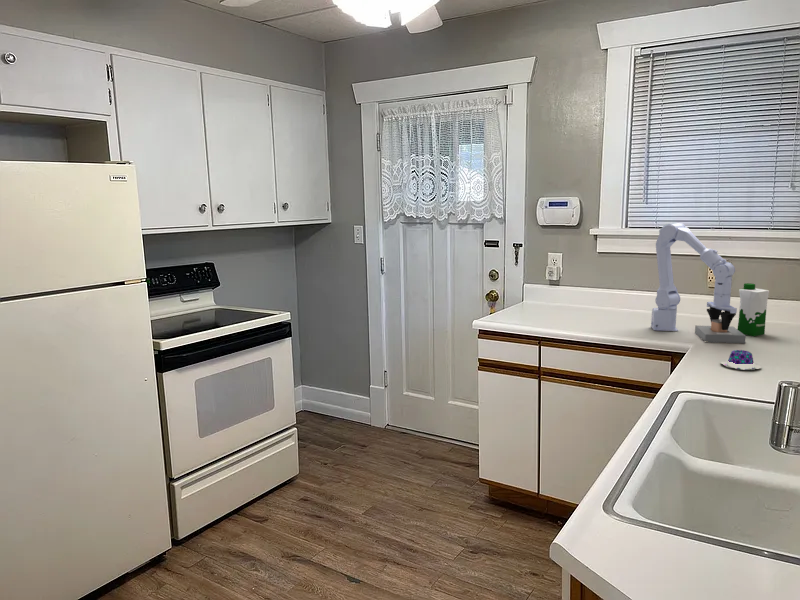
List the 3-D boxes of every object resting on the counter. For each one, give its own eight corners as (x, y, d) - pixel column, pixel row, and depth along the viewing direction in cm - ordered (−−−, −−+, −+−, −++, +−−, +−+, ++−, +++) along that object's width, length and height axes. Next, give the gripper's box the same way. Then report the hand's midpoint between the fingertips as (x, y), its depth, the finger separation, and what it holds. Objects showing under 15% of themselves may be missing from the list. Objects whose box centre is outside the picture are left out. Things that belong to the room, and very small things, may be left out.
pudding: (712, 366, 202) (713, 351, 201) (731, 360, 208) (732, 345, 207) (750, 374, 192) (751, 358, 191) (768, 368, 198) (769, 352, 198)
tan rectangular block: (717, 339, 236) (718, 321, 235) (710, 337, 240) (711, 319, 239) (726, 338, 237) (727, 321, 235) (719, 336, 240) (720, 319, 239)
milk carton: (746, 330, 250) (750, 282, 246) (768, 334, 242) (773, 285, 238) (733, 333, 246) (737, 284, 242) (754, 337, 238) (759, 287, 234)
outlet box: (704, 342, 232) (705, 333, 232) (694, 332, 248) (695, 324, 247) (745, 343, 229) (745, 335, 228) (732, 333, 244) (733, 326, 244)
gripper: (700, 291, 242) (698, 324, 244) (725, 297, 228) (723, 332, 230) (716, 290, 243) (714, 323, 245) (742, 296, 229) (739, 331, 231)
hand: (719, 328), depth 238 cm, fingers open, 5 cm apart
